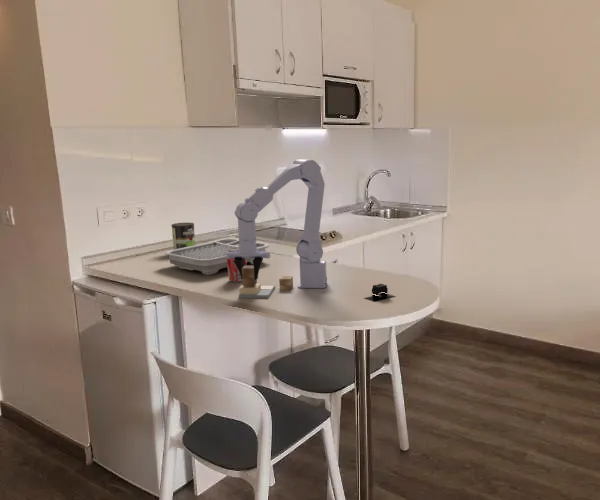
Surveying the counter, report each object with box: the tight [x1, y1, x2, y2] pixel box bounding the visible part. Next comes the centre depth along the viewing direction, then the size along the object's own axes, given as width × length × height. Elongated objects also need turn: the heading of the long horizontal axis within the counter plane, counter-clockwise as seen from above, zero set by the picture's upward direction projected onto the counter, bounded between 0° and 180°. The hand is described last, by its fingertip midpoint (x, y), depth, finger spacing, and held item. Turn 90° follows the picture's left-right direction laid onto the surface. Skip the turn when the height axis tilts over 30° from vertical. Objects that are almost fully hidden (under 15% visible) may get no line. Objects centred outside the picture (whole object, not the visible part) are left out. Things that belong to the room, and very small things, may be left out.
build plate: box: [238, 283, 276, 299], centre depth 183 cm, size 10×12×3 cm
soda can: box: [227, 248, 248, 283], centre depth 199 cm, size 7×7×12 cm
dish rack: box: [164, 238, 270, 276], centre depth 226 cm, size 32×37×8 cm
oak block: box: [278, 275, 294, 291], centre depth 187 cm, size 4×4×4 cm
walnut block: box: [241, 265, 258, 286], centre depth 180 cm, size 4×4×6 cm
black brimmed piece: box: [363, 283, 397, 303], centre depth 173 cm, size 12×7×5 cm, turn 123°
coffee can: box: [170, 222, 196, 250], centre depth 250 cm, size 10×10×14 cm
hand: (249, 279), depth 180 cm, fingers closed on walnut block, 4 cm apart
